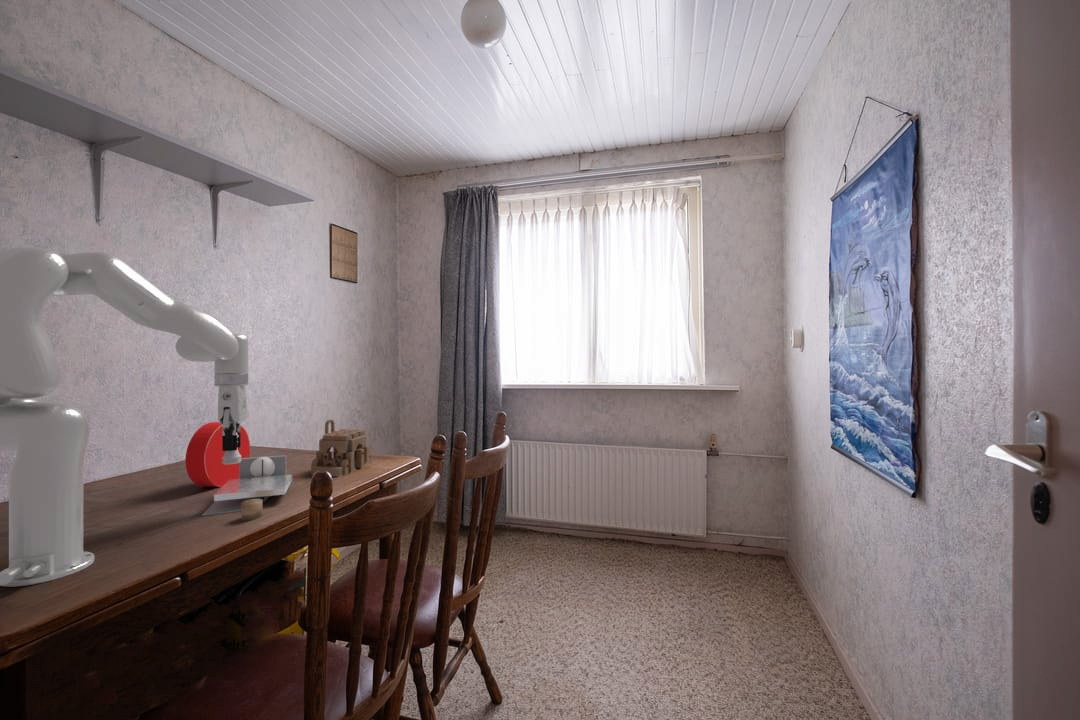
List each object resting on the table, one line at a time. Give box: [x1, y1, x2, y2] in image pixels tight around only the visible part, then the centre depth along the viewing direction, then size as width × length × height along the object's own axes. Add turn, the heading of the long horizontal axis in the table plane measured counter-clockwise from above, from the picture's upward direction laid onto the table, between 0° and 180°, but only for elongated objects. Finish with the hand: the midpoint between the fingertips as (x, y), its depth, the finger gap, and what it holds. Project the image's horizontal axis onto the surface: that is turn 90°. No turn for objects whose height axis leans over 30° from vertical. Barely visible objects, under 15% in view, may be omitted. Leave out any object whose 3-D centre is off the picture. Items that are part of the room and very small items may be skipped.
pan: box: [213, 474, 293, 502], centre depth 128 cm, size 16×16×4 cm
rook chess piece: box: [222, 432, 242, 464], centre depth 123 cm, size 4×4×8 cm
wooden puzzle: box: [310, 419, 372, 478], centre depth 162 cm, size 22×15×19 cm, turn 173°
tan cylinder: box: [240, 499, 264, 522], centre depth 113 cm, size 4×4×5 cm
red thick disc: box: [185, 421, 251, 488], centre depth 145 cm, size 20×6×20 cm, turn 178°
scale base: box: [201, 455, 287, 517], centre depth 129 cm, size 21×20×11 cm
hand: (231, 448), depth 123 cm, fingers closed on rook chess piece, 3 cm apart
